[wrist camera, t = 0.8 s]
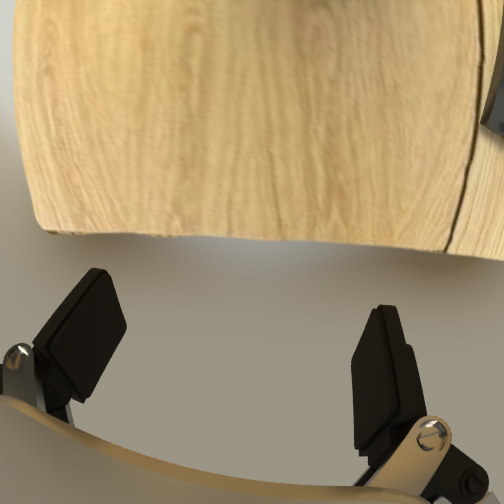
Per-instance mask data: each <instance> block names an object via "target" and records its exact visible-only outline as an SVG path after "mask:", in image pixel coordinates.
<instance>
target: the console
mask: <svg viewBox="0 0 504 504" xmlns="http://www.w3.org/2000/svg"><path fill="white" fill-rule="evenodd" d="M480 123H481V124H482V125H484V126H486V127H487V128H489V129H490V130H492V131H493V132H495V133H496V134H498V135H499V136H501V137H502V138H504V7H503V18H502V26H501V34H500V40H499V46H498V52H497V57H496V63H495V67H494V72H493V77H492V81H491V85H490V89H489V93H488V97H487V101H486V104H485V108H484V111H483V115H482V118H481V121H480Z"/></svg>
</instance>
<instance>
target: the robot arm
mask: <svg viewBox="0 0 504 504" xmlns="http://www.w3.org/2000/svg"><path fill="white" fill-rule="evenodd" d="M126 328H127V325H126V321H125V319H124V315H123V313H122V310H121V307H120V304H119V301H118V298H117V294H116V291H115V288H114V285H113V281H112V278H111V276H110V275H109V274H108V272H107V271H106V270H104V269H98V268H91V269H90V270H89V271H88V272H87V273H86V274H85V276H84V277H83V278H82V279H81V281H80V282H79V283H78V284H77V285H76V286H75V287H74V289H73V290H72V291H71V292H70V293H69V295H68V296H67V297H66V298H65V300H64V301H63V302H62V303H61V305H60V306H59V307H58V308H57V310H56V311H55V312H54V313H53V315H52V316H51V318H50V319H49V320H48V321H47V323H46V324H45V325H44V327H43V328H42V329H41V331H40V332H39V333H38V335H37V336H36V337H35V339H34V340H33V342H32V343H33V344H34V347H33V348H31V347H30V345H28V344H25V343H19V344H16V345H14V346H12V347H11V348H10V349H9V350H8V351H7V352H6V354H5V356H4V360H3V364H0V504H500V503H499V501H498V499H497V498H496V496H495V495H494V493H493V491H491V492H489V491H488V486H489V478H488V475H487V472H486V471H485V470H484V469H483V468H482V467H481V466H480V465H478V464H477V463H476V462H474V461H473V460H472V459H471V458H469V457H468V456H467V455H465V454H464V453H463V452H462V451H460V450H459V449H457V448H456V447H455V446H454V445H452V444H451V441H452V433H451V430H450V427H449V426H448V424H447V423H446V422H445V421H444V420H443V419H442V418H439V417H437V416H431V415H430V416H427V411H426V406H425V401H424V395H423V390H422V385H421V381H420V377H419V372H418V368H417V363H416V359H415V355H414V351H413V348H412V347H411V345H409V344H406V342H405V337H404V334H403V329H402V326H401V322H400V318H399V315H398V311H397V308H396V307H395V306H392V305H379V306H378V307H377V309H372V311H371V314H370V317H369V319H368V321H367V324H366V326H365V329H364V331H363V334H362V336H361V338H360V341H359V343H358V345H357V348H356V350H355V352H354V355H353V357H352V361H351V373H352V389H353V412H354V447H355V449H356V450H359V456H368V465H369V467H368V468H367V469H366V471H365V472H364V473H363V474H362V475H361V476H360V477H359V478H358V479H357V481H356V482H355V483H354V484H353V485H352V486H316V485H299V484H285V483H274V482H265V481H257V480H250V479H243V478H237V477H231V476H225V475H220V474H215V473H210V472H205V471H201V470H197V469H192V468H188V467H184V466H180V465H177V464H173V463H169V462H166V461H162V460H159V459H156V458H153V457H149V456H146V455H143V454H140V453H137V452H134V451H132V450H129V449H126V448H123V447H121V446H118V445H115V444H113V443H110V442H108V441H105V440H103V439H101V438H98V437H96V436H93V435H91V434H89V433H87V432H84V431H82V430H80V429H78V428H76V427H75V426H74V421H73V417H72V413H71V408H70V404H69V401H70V399H71V398H72V399H74V400H76V401H78V402H80V403H84V402H85V400H86V398H89V397H90V396H91V394H92V392H93V390H94V388H95V387H96V384H97V383H98V381H99V379H100V377H101V375H102V373H103V371H104V370H105V368H106V366H107V364H108V362H109V361H110V359H111V357H112V355H113V353H114V352H115V350H116V348H117V346H118V344H119V343H120V341H121V339H122V337H123V336H124V334H125V332H126Z"/></svg>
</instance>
